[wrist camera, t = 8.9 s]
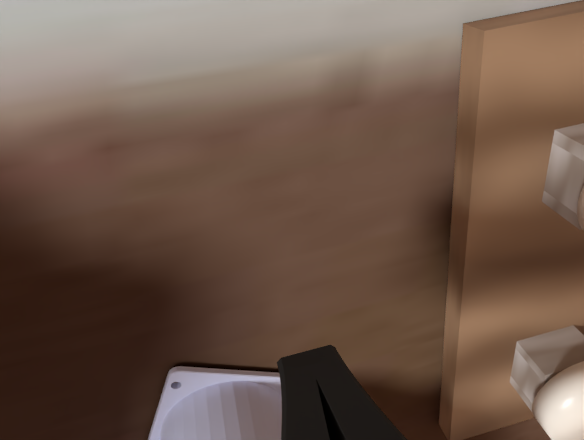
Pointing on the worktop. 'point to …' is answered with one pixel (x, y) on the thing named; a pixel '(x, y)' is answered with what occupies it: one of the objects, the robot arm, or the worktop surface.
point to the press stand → (514, 218)
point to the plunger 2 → (581, 209)
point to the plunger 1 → (562, 404)
